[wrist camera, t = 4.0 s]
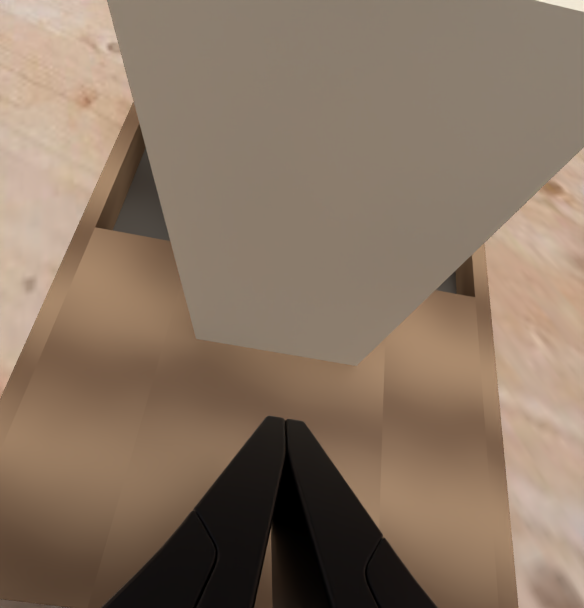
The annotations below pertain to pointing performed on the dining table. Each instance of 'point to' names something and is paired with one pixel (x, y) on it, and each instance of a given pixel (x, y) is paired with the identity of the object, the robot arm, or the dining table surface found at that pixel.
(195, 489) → the tray
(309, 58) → the cream block
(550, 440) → the dining table surface
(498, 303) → the dining table surface
